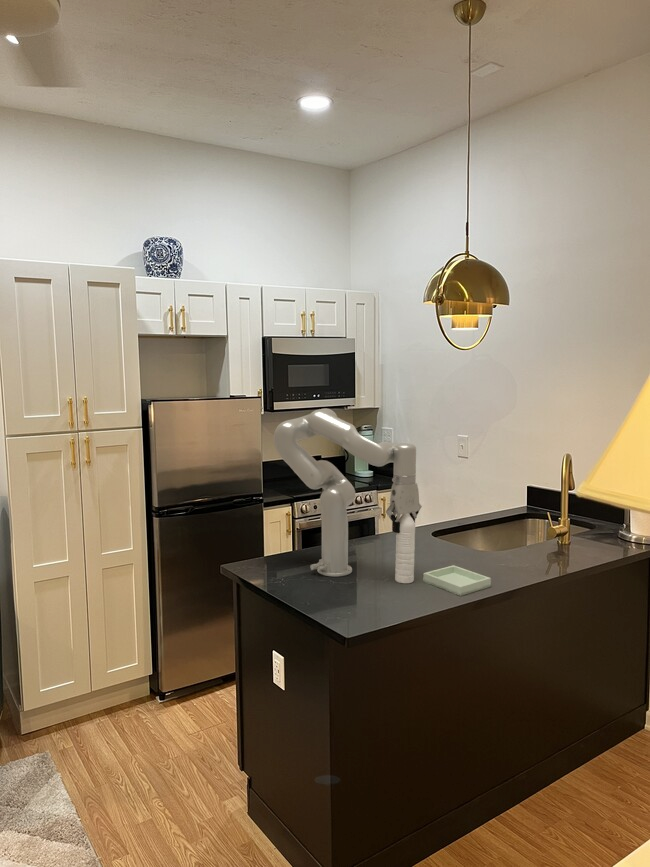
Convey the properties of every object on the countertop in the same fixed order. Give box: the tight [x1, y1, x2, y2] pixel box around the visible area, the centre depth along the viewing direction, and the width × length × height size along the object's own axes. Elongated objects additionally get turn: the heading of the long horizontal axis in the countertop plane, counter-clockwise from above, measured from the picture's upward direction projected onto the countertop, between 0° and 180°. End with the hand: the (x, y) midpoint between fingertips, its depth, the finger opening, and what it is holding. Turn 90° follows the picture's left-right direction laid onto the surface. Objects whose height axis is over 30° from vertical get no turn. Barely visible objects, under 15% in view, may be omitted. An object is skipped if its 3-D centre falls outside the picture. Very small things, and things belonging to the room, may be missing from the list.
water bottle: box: [394, 513, 416, 584], centre depth 226 cm, size 9×6×25 cm
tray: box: [422, 564, 492, 597], centre depth 222 cm, size 15×17×3 cm
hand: (403, 530), depth 225 cm, fingers closed on water bottle, 6 cm apart
